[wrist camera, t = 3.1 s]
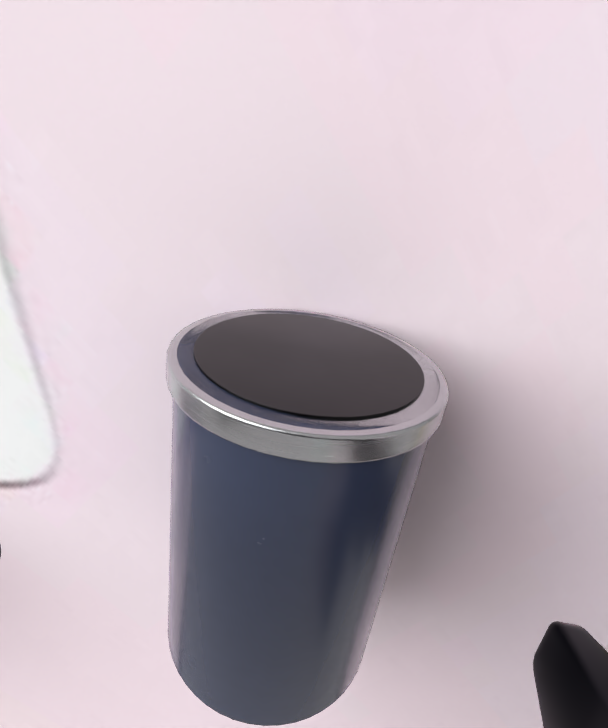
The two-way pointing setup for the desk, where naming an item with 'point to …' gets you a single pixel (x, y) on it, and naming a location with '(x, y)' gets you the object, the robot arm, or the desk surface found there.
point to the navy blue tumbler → (287, 501)
